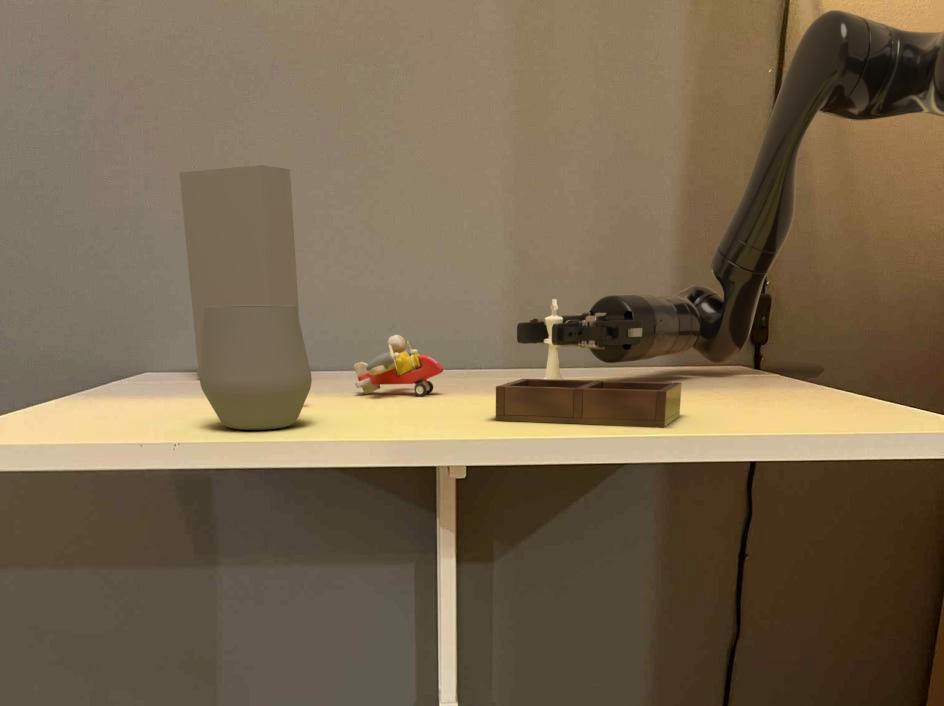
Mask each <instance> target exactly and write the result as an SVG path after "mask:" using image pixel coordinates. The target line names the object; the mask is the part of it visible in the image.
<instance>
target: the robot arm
mask: <svg viewBox="0 0 944 706" xmlns="http://www.w3.org/2000/svg"><path fill="white" fill-rule="evenodd" d="M818 113H823V114H826V115H830V116H833V117H836V118H841V119H844V120H850V121H856V122H857V121H862V122H863V121H871V120H878V119H883V118H890V117H897V116H904V115H909V114H910V115H911V114H929V115H934V116H939V117H944V30H943V31H937V32H936V31H934V32H932V31H927V32H925V31H922V32H920V31H910V30H904V29H900V28H898V27H894V26H891V25H888V24H886V23H881V22H879V21H875V20H872V19H868V18H866V17H863V16H860V15H858V14H854V13H852V12H847V11H844V10H840V9H835V10H833V9H832V10H828V11H826V12H822V14H820V15H819V16H818V17H816V18H815V19H814V20H813V21H812V22H811V23H810V24H809V26H807V28H806V29H805V31H804V33H803V35H802V36H801V38H800V40H799V42H798V43H797V46H796V47H795V50H794V51H793V54H792V56H791V58H790V61H789V63H788V66H787V69H786V71H785V74H784V77H783V80H782V82H781V85H780V89H779V91H778V94H777V97H776V100H775V102H774V104H773V108H772V110H771V115H770V116H769V120H768V123H767V126H766V128H765V132H764V135H763V137H762V141H761V144H760V147H759V150H758V153H757V156H756V158H755V161H754V164H753V168H752V171H751V174H750V177H749V179H748V182H747V184H746V187H745V189H744V192H743V194H742V196H741V199H740V200H739V203H738V205H737V207H736V209H735V212H734V214H733V215H732V217H731V219H730V222H729V223H728V226H727V227H726V230H725V231H724V234H723V235H722V238H721V239H720V241H719V243H718V246H717V248H716V249H715V251H714V254H713V256H712V258H711V261H710V270H711V273H712V275H713V276H714V278H715V279H716V281H717V282H718V283H719V285H720V287H721V288H722V291H723V296H722V295H720V294H719V293H718V292H717V291H716V290H714V289H712V288H711V287H709V286H705V285H702V284H692V285H689V286H688V287H686V288H683V289H682V290H681V291H678V292H676V293H674V294H672V295H671V296H670V295H669V296H655V295H651V294H620V295H618V294H615V295H614V294H613V295H606V296H604V297H602V298H600V299H598V300H597V301H596V302H595V303H594V304H593V305H592V306H591V308H590V310H589V311H588V312H587V311H586V312H585V311H584V312H576V313H574V314H557V315H558V316H559V317H562V318H563V322H562V323H555V324H553V326H552V344H553V345H558V348H572V347H574V348H575V349H589V351H590V352H591V354H592V355H593V356H594V357H595V358H596V359H597V360H599V361H601V362H603V363H607V364H617V363H627V362H637V361H647V360H651V359H654V358H656V357H657V358H659V357H667V356H675V355H681V354H684V353H685V352H687V351H689V350H691V349H694V350H695V351H696V352H697V353H698V354H700V355H701V356H702V357H704V359H706V360H707V361H709V362H711V363H714V364H721V363H722V364H723V363H725V362H728V361H730V360H732V359H733V358H734V357H736V356H737V355H738V354H739V353H740V352H741V350H742V349H743V348H744V347H745V345H746V343H747V341H748V339H749V336H750V334H751V331H752V327H753V326H754V325H753V324H754V321H755V316H756V312H757V308H758V304H759V300H760V297H761V293H762V290H763V285H764V282H765V280H766V278H767V276H768V274H769V272H770V270H771V269H772V266H773V265H774V263H775V261H776V259H777V258H778V255H779V254H780V253H781V250H782V249H783V247H784V245H785V243H786V241H787V239H788V237H789V234H790V232H791V229H792V226H793V222H794V218H795V212H796V211H795V210H796V196H797V195H796V193H797V191H796V190H797V185H796V184H797V182H796V181H797V166H798V160H799V159H798V158H799V155H800V150H801V146H802V144H803V142H804V138H805V136H806V134H807V132H808V130H809V128H810V126H811V125H812V123H813V121H814V119H815V117H816V116H817V114H818ZM548 337H549V334H548V331H547V326H546V323H545V318H539V319H538V318H532V319H529V321H526V322H525V321H524V322H518V323H517V325H516V342H517V343H518V344H521V345H526V344H533V345H535V344H540V345H546V343H544V341H545V339H549V338H548Z"/></svg>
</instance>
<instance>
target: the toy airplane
mask: <svg viewBox="0 0 944 706" xmlns="http://www.w3.org/2000/svg"><path fill="white" fill-rule="evenodd" d="M406 344H407V346H406ZM386 346H387V349H388V350H389V352H384V353H381V354H380V355H377V356H376V357H374V358H373V359H371V361H370V362H368V363H366V362H363V361H359V362H356V363H354V365H353V368H354V370H355V373H356V376H357V380H358V381H356V382H355V383H354V385H355V387H356V388H357V389H359V388H361V389H362V392H363V393H364V394H366V395H367V394H370V393H373V392H375V391H377V390H380V389H381V386H383V385H385V386H386V385H414V388H413V390H414V393H415V395H416V396H418V397H423V396H425V395H427V394H431V393H432V392H433V391H434V384H433V383H432V382H431V381H430V380H428V379H430V378H431V379H432V378H433V377H435V376H438V375H440V374H442V373H443V372H444V367H443V366H442V364H441V363H440V362H439V361H438V360H436V359H435V358H433V357H432V356H428V355H426V354H425V355H424V354H422V355H421V354H420V353H419V350H418V349H413V348H412V346H411V344H410V342H409V340H407V341H406V339H405V338H404V337H403V336H402V335H400V334H394V335H393V334H392V335H391V336H389V338H388V339H387V345H386ZM406 347H408V348H407V349H406Z"/></svg>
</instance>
